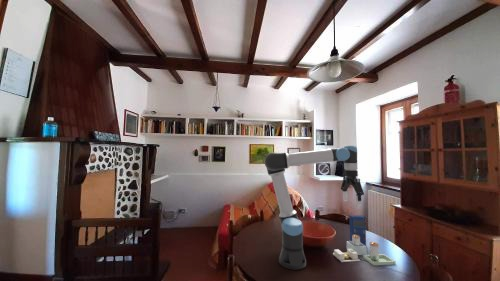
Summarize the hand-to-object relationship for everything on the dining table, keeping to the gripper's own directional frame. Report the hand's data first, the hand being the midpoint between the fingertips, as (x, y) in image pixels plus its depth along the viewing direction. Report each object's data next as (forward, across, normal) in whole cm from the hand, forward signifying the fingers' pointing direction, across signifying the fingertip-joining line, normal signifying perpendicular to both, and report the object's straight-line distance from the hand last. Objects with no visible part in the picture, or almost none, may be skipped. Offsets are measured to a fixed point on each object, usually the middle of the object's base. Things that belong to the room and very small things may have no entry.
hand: (351, 203), depth 128 cm
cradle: (+32, -2, +6) cm, 32 cm away
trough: (+32, -8, -11) cm, 34 cm away
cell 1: (+31, +4, -5) cm, 32 cm away
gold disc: (+31, -2, +6) cm, 32 cm away
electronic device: (+32, +14, -13) cm, 37 cm away
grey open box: (+32, +4, -5) cm, 32 cm away
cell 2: (+31, -8, -8) cm, 33 cm away
